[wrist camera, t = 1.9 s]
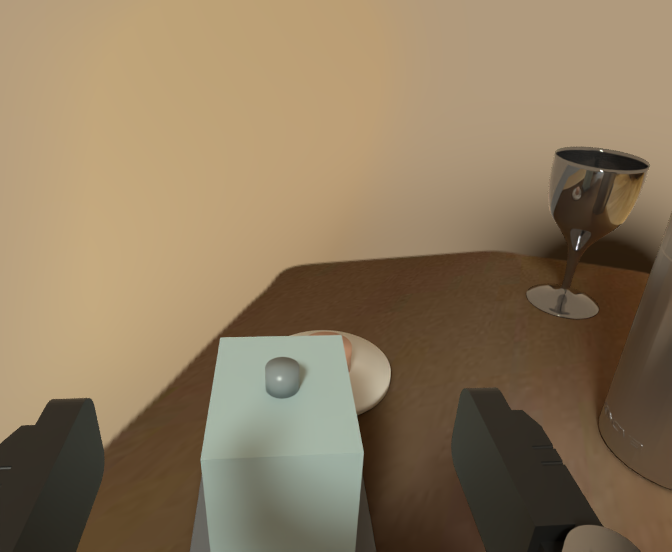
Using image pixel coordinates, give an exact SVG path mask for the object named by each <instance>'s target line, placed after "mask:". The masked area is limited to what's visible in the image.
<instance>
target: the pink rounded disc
mask: <svg viewBox="0 0 672 552" xmlns="http://www.w3.org/2000/svg"><path fill="white" fill-rule="evenodd" d="M320 335H341V334H338V333H334V332H317V333H313V334H310V335H308V336H320ZM342 340H343V345H344V350H345V356H346V361H347V366H348V372H350V369H351V355H352V344H351V342H350V341H349V340H348V339H347V338H346V337H345V336H343V335H342Z"/></svg>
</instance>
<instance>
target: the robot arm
mask: <svg viewBox="0 0 672 552" xmlns="http://www.w3.org/2000/svg"><path fill="white" fill-rule="evenodd" d="M599 428H600V432H601V435H602V437H603V439H604V440H605V442H606V444H607V446H608V447H609V448H610V449H611V450H612V451H613V453H614V454H615V455H616V456H617V457H618V458H619V459H620V460H621V461H623V462H624V463H625V464H626V465H627V466H628V467H630V468H631V469H633V470H634V471H636V472H637V473H639V474H640V475H642V476H643V477H645V478H647V479H649V480H651V481H653V482H655V483H657V484H659V485H661V486H663V487H666V488H669V489H671V490H672V213H671V216H670V219H669V222H668V225H667V227H666V230H665V233H664V236H663V239H662V242H661V245H660V248H659V251H658V253H657V256H656V259H655V262H654V264H653V267H652V270H651V273H650V276H649V279H648V281H647V284H646V287H645V290H644V293H643V295H642V298H641V301H640V304H639V307H638V310H637V312H636V315H635V318H634V321H633V324H632V326H631V329H630V332H629V335H628V338H627V341H626V343H625V346H624V349H623V352H622V355H621V357H620V360H619V363H618V366H617V369H616V372H615V374H614V377H613V380H612V383H611V386H610V389H609V391H608V394H607V397H606V400H605V403H604V405H603V408H602V411H601V414H600V417H599ZM451 448H452V458H453V463H454V467H455V470H456V472H457V475H458V478H459V480H460V483H461V486H462V488H463V491H464V493H465V496H466V499H467V501H468V504H469V507H470V509H471V512H472V515H473V517H474V520H475V523H476V525H477V528H478V530H479V533H480V536H481V538H482V541H483V544H484V546H485V549H486V552H641V551H640V550H639V549H638V548H637V547H636V546H635V545H634V544H633V543H632V542H630V541H629V540H628V539H627V538H625V537H624V536H622V535H620V534H619V533H617V532H615V531H613V530H610V529H608V528H605V527H603V525H602V524H601V522H600V521H599V519H598V518H597V516H596V514H595V513H594V511H593V509H592V508H591V506H590V505H589V503H588V501H587V500H586V498H585V496H584V495H583V493H582V492H581V490H580V488H579V487H578V485H577V484H576V482H575V480H574V479H573V477H572V475H571V474H570V472H569V471H568V469H567V467H566V466H565V465H563V463H562V459H561V458H560V456H559V454H558V453H557V451H556V449H553V445H552V443H551V441H550V440H549V438H548V436H547V435H546V433H545V432H544V430H543V428H542V427H541V426H540V425H539V424H538V423H537V422H536V421H535V420H533V419H532V418H531V417H530V416H529V415H527V414H526V413H525V412H524V411H523V410H511V409H510V407H509V405H508V403H507V402H506V400H505V398H504V396H503V395H502V393H501V391H500V390H499V389H498V388H465V389H463V390H462V392H461V394H460V399H459V404H458V409H457V414H456V420H455V425H454V430H453V435H452V443H451ZM103 471H104V449H103V445H102V440H101V435H100V431H99V426H98V421H97V416H96V412H95V407H94V404H93V401H92V400H91V399H90V398H78V399H52V400H51V401H49V402H48V404H47V405H46V407H45V409H44V410H43V412H42V414H41V416H40V417H39V419H38V421H37V423H36V424H35V425H25V426H21V427H19V428H18V429H17V430H16V431H15V432H13V433H12V434H11V435H10V436H9V437H8V438H6V439H5V440H4V441H3V442H2V443H1V444H0V552H76V550H77V547H78V544H79V542H80V539H81V536H82V533H83V531H84V528H85V525H86V522H87V520H88V517H89V514H90V511H91V509H92V506H93V503H94V500H95V498H96V495H97V492H98V489H99V487H100V484H101V481H102V477H103Z"/></svg>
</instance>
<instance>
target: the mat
mask: <svg viewBox="0 0 672 552" xmlns="http://www.w3.org/2000/svg"><path fill="white" fill-rule="evenodd" d="M190 552H210V543H209V533H208V524H207V515H206V505H205V496H204V487H203V477H201V484H200V490H199V497H198V503H197V510H196V516H195V523H194V529H193V535H192V542H191V548H190ZM355 552H376V546H375V541H374V535H373V530H372V524H371V518H370V513H369V507H368V502H367V496H366V490H365V485H364V479H363V473H362V479H361V490H360V501H359V513H358V524H357V535H356V546H355Z"/></svg>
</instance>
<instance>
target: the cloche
mask: <svg viewBox="0 0 672 552" xmlns="http://www.w3.org/2000/svg"><path fill="white" fill-rule="evenodd" d="M363 456H364V451H363V446H362V440H361V435H360V430H359V424H358V419H357V414H356V409H355V403H354V398H353V393H352V387H351V382H350V377H349V372H348V366H347V361H346V356H345V350H344V345H343V340H342V335H320V336H273V337H227V338H220V344H219V350H218V356H217V362H216V368H215V375H214V381H213V387H212V393H211V399H210V405H209V411H208V418H207V424H206V430H205V436H204V442H203V448H202V455H201V468H202V477H203V487H204V496H205V505H206V515H207V524H208V533H209V543H210V552H355V546H356V535H357V524H358V513H359V501H360V490H361V479H362V467H363Z"/></svg>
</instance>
